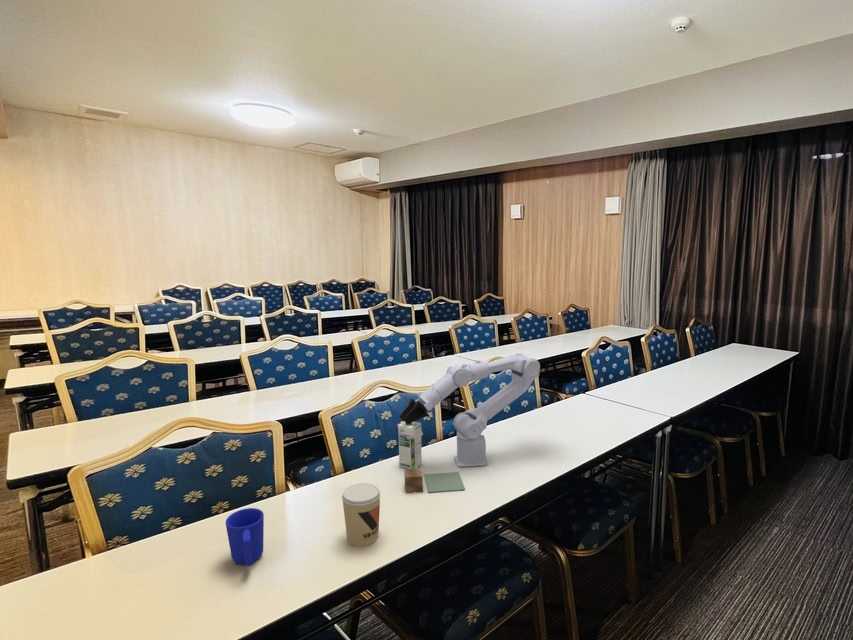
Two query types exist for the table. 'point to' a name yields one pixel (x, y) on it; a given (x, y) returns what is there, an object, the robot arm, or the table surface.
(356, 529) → the beige lidded canister
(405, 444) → the syrup box
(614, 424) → the table surface
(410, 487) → the walnut block
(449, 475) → the green mat
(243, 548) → the mug
